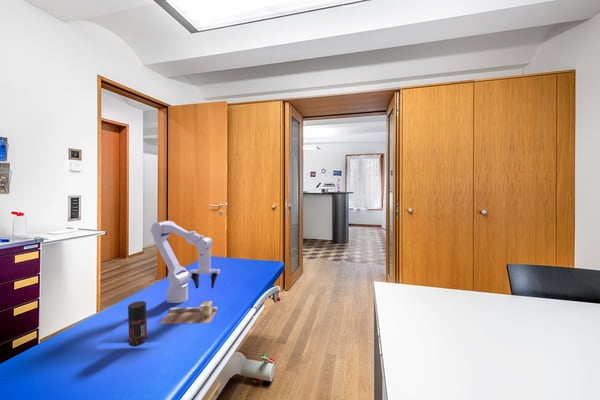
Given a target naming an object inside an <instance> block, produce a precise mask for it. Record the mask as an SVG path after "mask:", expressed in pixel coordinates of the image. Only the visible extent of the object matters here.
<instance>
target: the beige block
mask: <svg viewBox="0 0 600 400" xmlns="http://www.w3.org/2000/svg"><path fill="white" fill-rule="evenodd" d="M199 307H200V317H209V316H210V314H211V313H212V307H213V301H212V300H205V301H202V303H201V304H200V305H199Z"/></svg>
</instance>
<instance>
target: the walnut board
mask: <svg viewBox="0 0 600 400" xmlns="http://www.w3.org/2000/svg"><path fill="white" fill-rule="evenodd" d="M218 309H219V308H218V306H212V313H211V314H210V316H209V317H200V306H198V307H197V306H195V307H193V306H191V307H190V306H189V307H170V308H169V312H168V313H167V314H166V315H165V316H164V317H163V318H162V319H161V320H160V322H159V323H158V325H164V324H165V325H167V324H170V325H171V324H172V325H173V324H204V323H205V324H209V323H211V322H212V320H213V319H214V316H215V315H216V313H217V311H218Z"/></svg>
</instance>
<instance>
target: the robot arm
mask: <svg viewBox="0 0 600 400" xmlns="http://www.w3.org/2000/svg"><path fill="white" fill-rule="evenodd" d="M150 232H151V234H152V237H153V240H154V241H153V242H154V244H155V245H156V248H157V250H158V251H159V253H160V255H161V257H162V259H163V262H164V263H165V265H166V267H167V269H168V271H169V272H168V274H167V276H166V277H167V279H168V284H169V286H168V288H167V291H166V303H167V304H171V303H173V304H182V303H185V302H186V301H188V299H189V296H188V295H189V286H188V285H189V281H190V280H193V281H192V282H193V283H194V285H195V289H198V288H199V287H200V282H199V281H200V280H199V279H200V275H210V280H211V281H210V282H211V284H210V285H211V286H210V287H211V289H214V287H215V283H216V280H217V277H218V275H219V274H220V273H221V269H220V268H211V267H212V259H211V254H212V253H211V250H212V249H211V247H213V243H214V241H213V240H212V238H211V237H209V236H204V235H203V234H202V235H201V234H199V233H197V231H196V230H192V231H188V230H186V229H184V228H183V227H181V226H179V225H177V224H176V222H174V221H172V220H164V221H159V222H153V224H152V225H151V228H150ZM172 233H173V234H175V235H177V236H179V237H182V238H184V240H185V241H186V243H189V244H191V245H193V246H194V247H196V249H197V253H198V268H197V269H190V270H189V271H188V270H187V269H186V267H184V266H182V265H180V263H179V261H178V259H177V257H176V254H175V253H174V250H173V249H172V247H171V245H170V244H169V242H168V238H169V237H170V235H171V234H172Z"/></svg>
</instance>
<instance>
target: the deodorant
mask: <svg viewBox="0 0 600 400" xmlns="http://www.w3.org/2000/svg"><path fill="white" fill-rule="evenodd" d="M127 313H128V314H127V318H128V319H127V320H128V321H127V322H128V345H129V346H131V347H139V346H141V345H144V343H146V341H144V340H145V339H146V338H147V336H148V333H147V331H148V327H147V326H148V325H147V323H148V322H147V302H146V301H145V300H138V301H133V302H132V303H130V304H128V306H127Z"/></svg>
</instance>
